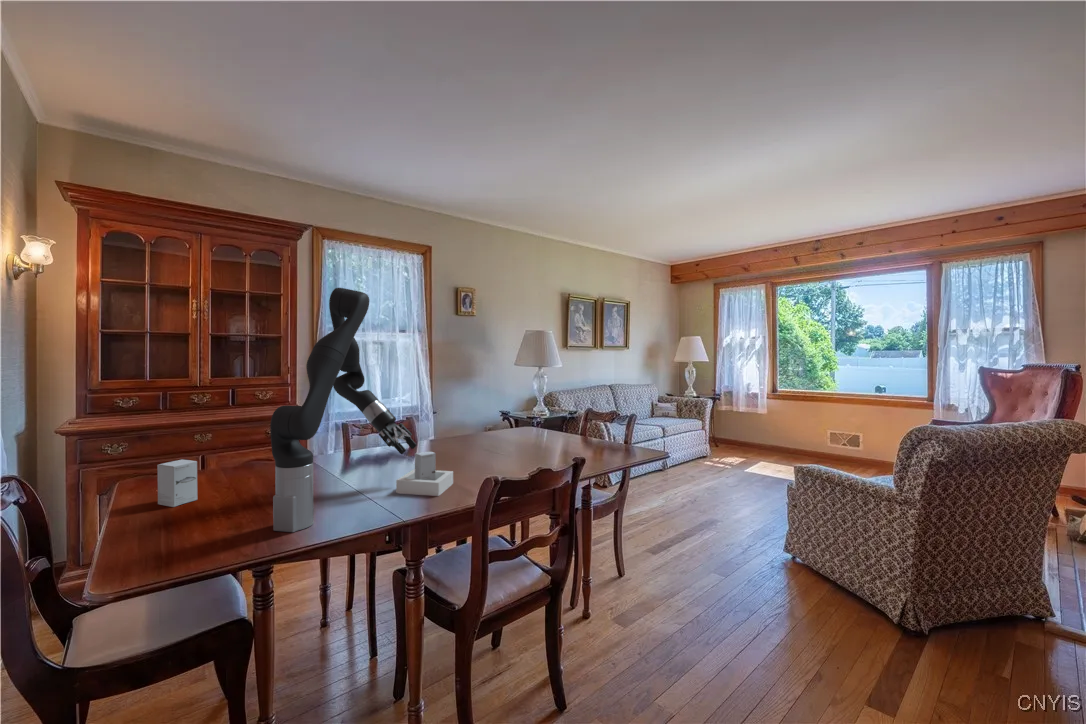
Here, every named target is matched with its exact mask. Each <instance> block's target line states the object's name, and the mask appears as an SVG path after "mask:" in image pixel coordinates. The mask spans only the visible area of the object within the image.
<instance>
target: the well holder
mask: <svg viewBox="0 0 1086 724" xmlns="http://www.w3.org/2000/svg"><path fill="white" fill-rule="evenodd" d="M395 483H396V487H395V491H396V493H395V494H401V495H414V496H415V495H417V496H418V495H419V496H432V497H440V496H441V495H442V494H443V493H444V492H446V491H447V490H448V489H449V488H450V487H452V486H453V484H454V471H453V470H436V469H435V481H433V480H416V479H415V468H414V469H412V470H411V471H409V472H407V473H406V474H405V473H404V475H402V476H401V477H399V478H397V479H396V482H395Z"/></svg>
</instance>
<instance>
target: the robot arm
mask: <svg viewBox="0 0 1086 724" xmlns="http://www.w3.org/2000/svg"><path fill="white" fill-rule="evenodd" d="M329 295H330V296H329V300H328V303H329V304H328V307H329V313H330V318H331V324H332V328H333V330H332V331H330V332H329V333H328V334H326V335H324V336H322V337H321V338H320V339H318V340H317V341H316V342H315V344H314V345H313V348H312V350H311V352H310V354H309V356H308V358H307V361H306V374H307V378H308V382H309V383H308V384H309V389H308V392H307V396H306V398H305V399H304V400H305V401H304V402H303V404H302V405H289V404H288V405H287V404H286V405H281V406H279V407H277V408H276V409H275V410H274V412H273V413H272V415H271V418H270V424H269V425H270V443H271V444H270V445H271V455H272V457H273V459H274V467H275V471H274V473H275V478H274V479H275V483H274V485H275V495H273V497H272V502H273V503H272V505H273V506H272V507H273V508H272V510H273V511H272V516H273V518H272V521H273V529H272V530H273V531H274V532H285V533H296V532H297V531H300V530H304V529H307V528H309V527H311V526H312V525H314V524H315V523H314V521H315V520H314V509H315V508H314V454H313V451H311V450H309V449H307V448H306V447H305V446H304V445H302V444H301V443H300V441H308V440H310V439H312V438H313V437H314V436H315V435H316V434H317V432H318V430H319V428H320V426H321V423H322V420H323V416H324V413H325V411H326V407H327V404H328V401H329V398H330V395H331V392H332V390H333V389H334V391H335V392H336V393H337V394H338V395H339V396H340V397H342V398H344V399H345V400H347V401H348V402H349V403H351V404H353V405H354V406H356V408H357V409H358V410H359V411H360V412H361V414H363V416H364V418H365V419H366V420H367V421H368V422H369V423H370V424H371V426H372V427H373V428H374V429H375V430H376V431H377V432H378V436H379V437H380V438H381V440H382V441H383V442H384V443H385V445H387V447H389V448H390V447H392V448H394V449H396V450H397V452H398V453H399V454H400V455H403V454H405V453H406V452H407V449H406V448H405V446H404V445H403V444H402V443H401V442H400V441H399V440H402V441H404V442H405V443H406V444H407V445H408V447H410V448H411V450H413V449H415V448H416V447H417V446H418V445H417V443H416V442H415V441H414V440H413V439H412V436H413V434H412V432H411V431H410V430H409V429H408V428H407V427H406V426H405V425H404V424H403V423H401V422H400V423H398V424H397V423H396V421H397V420H396V419H397V417H396V416H395V415H394V414H393V413H392V412H391V411H390V409H389V408H387V406H386V405H385V404H384V403H383V402H381V401H380V400H379V399H378V398H377V396H376V395H375V394H374V393H373V392H372V391H370V390H369V389H366V390H365V389H364V390H359V389H361V388H362V387H363V386H364V385H365V382H366V381H365V380H366V378H365V376H364V373H363V370H362V367H361V364H360V359H361V358H360V357H361V356H360V346H359V344H358V341H357V340H356V338H355V336H356V334H357V332H358V331H359V328H360V326H361V325H362V323H363V321H364V319H365V317H366V315H367V313H368V310H369V307H370V306H369V305H370V297H369V295H368V294H367V293H366V292H363V291H360V290H354V289H350V288H343V287H335V288H334V289H333V290H332V292H331V293H330V294H329ZM345 318H346V319H345ZM340 371H341V372H343V373H344V374H342V375H341V374H340ZM339 374H340V375H339ZM338 375H339V376H338Z"/></svg>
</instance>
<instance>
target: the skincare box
mask: <svg viewBox="0 0 1086 724" xmlns="http://www.w3.org/2000/svg"><path fill="white" fill-rule="evenodd" d="M436 456H437V455H436V452H433V451H422V452H416V453H414V469H415V479H416V480H433V481H435V470H436V465H437V464H436V458H437V457H436Z"/></svg>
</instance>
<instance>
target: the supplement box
mask: <svg viewBox="0 0 1086 724" xmlns="http://www.w3.org/2000/svg"><path fill="white" fill-rule="evenodd" d="M194 501H198V461H197V460H190V459H179V460H172V461H168V462H163V463H160V464H157V505H160V506H166V507H171V508H175V507H179V506H180V505H183V504H188V503H191V502H194Z"/></svg>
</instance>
